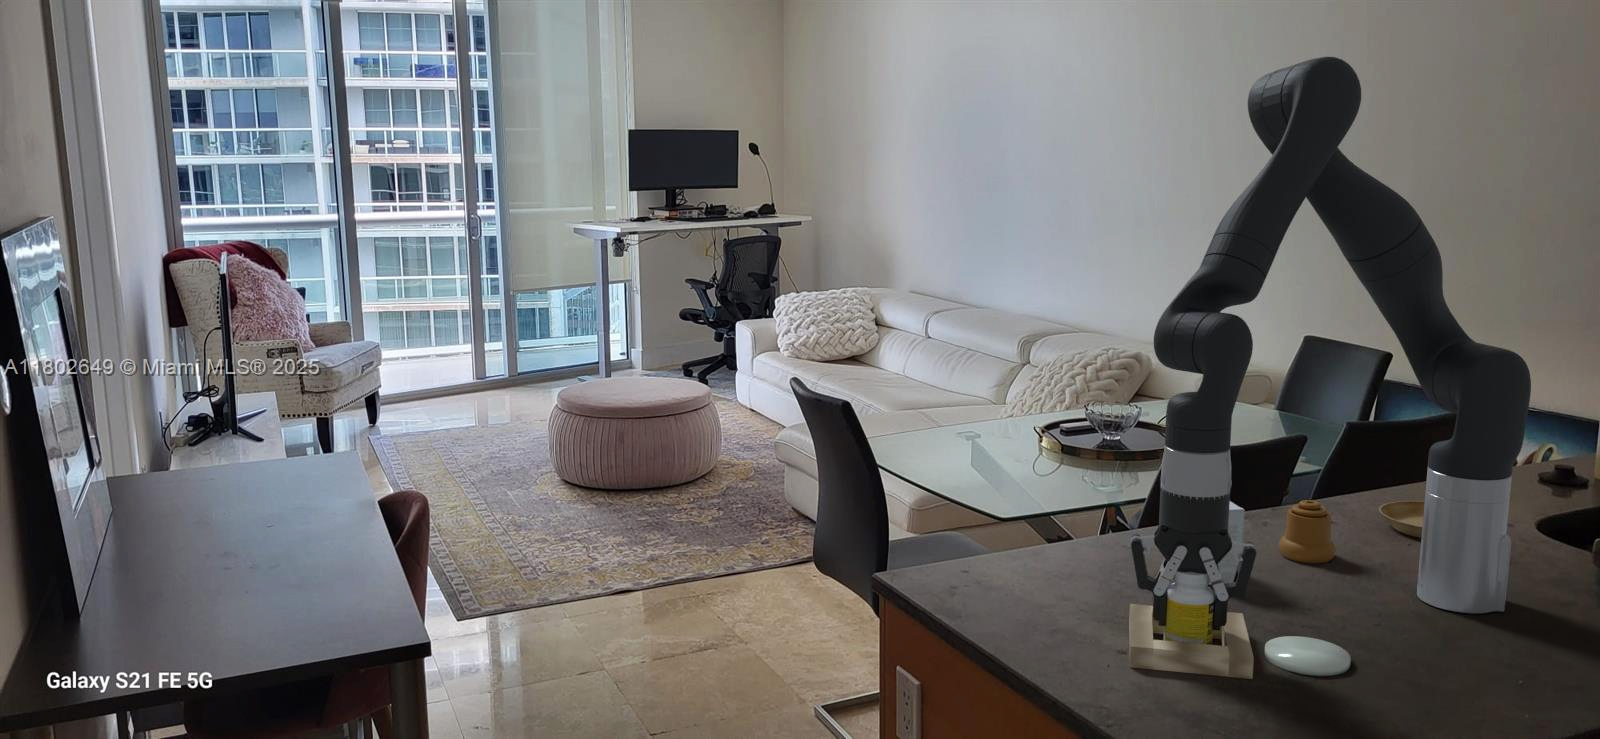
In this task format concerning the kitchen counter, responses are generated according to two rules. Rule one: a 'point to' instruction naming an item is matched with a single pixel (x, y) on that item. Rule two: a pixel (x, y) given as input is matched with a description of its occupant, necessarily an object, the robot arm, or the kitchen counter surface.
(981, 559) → the kitchen counter surface
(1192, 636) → the supplement bottle
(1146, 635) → the pocket block
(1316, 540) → the ornamental finial
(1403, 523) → the plant saucer
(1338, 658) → the pale green pebble
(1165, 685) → the kitchen counter surface
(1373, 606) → the kitchen counter surface
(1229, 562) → the small box
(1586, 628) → the kitchen counter surface
